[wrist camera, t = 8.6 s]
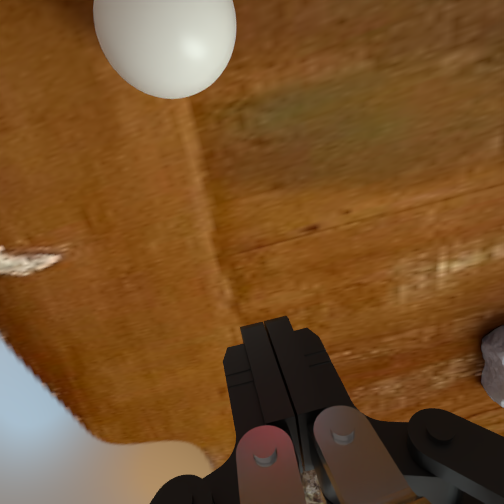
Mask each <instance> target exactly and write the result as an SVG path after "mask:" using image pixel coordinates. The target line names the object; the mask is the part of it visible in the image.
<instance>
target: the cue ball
mask: <svg viewBox="0 0 504 504" xmlns="http://www.w3.org/2000/svg"><path fill="white" fill-rule="evenodd" d="M93 17H94V25H95V30H96V34H97V37H98V40H99V43H100V46H101V48H102V50H103V53H104V55H105V56H106V58H107V60H108V61H109V63H110V64H111V66H112V67H113V68H114V69H115V70H116V72H117V73H118V74H119V75H120V76H121V77H122V78H123V79H124V80H125V81H127V82H128V83H129V84H130V85H132V86H133V87H135V88H137V89H138V90H140V91H142V92H144V93H146V94H149V95H152V96H156V97H160V98H166V99H177V98H184V97H189V96H191V95H194V94H197V93H199V92H201V91H203V90H204V89H206V88H207V87H209V86H210V85H211V84H212V83H213V82H215V81H216V80H217V78H218V77H219V76H220V75H221V74H222V72H223V71H224V69H225V67H226V66H227V64H228V62H229V60H230V58H231V55H232V52H233V48H234V44H235V38H236V14H235V9H234V5H233V0H94V4H93Z"/></svg>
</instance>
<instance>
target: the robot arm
mask: <svg viewBox="0 0 504 504" xmlns="http://www.w3.org/2000/svg"><path fill="white" fill-rule="evenodd" d="M264 326H265V327H264ZM240 329H241V334H242V339H243V343H244V344H240V345H236V346H232V347H228V348H227V351H226V354H225V357H224V360H223V365H224V370H225V376H226V381H227V387H228V392H229V398H230V403H231V409H232V414H233V420H234V425H235V431H236V444H235V447H234V450H233V452H232V454H231V456H230V457H229V459H228V460H227V461H226V462H225V463H224V464H223V465H222V466H221V467H219V468H218V469H217V470H215V471H214V472H212V473H211V474H209V475H207V476H206V477H205V478H203V479H202V478H200V477H198V476H195V475H181V476H178V477H175V478H173V479H171V480H169V481H168V482H167V483H165V484H164V485H163V486H162V488H160V489H159V491H158V492H157V493H156V495H155V496H154V498H153V499H152V501H151V503H150V504H306V500H305V495H304V491H303V486H302V480H301V473H303V468H302V462H303V465H304V468H305V471H310V470H313V469H314V470H315V473H316V476H317V479H318V481H319V484H320V491H321V498H322V501H323V503H324V504H504V437H503V436H501V435H498V434H496V433H494V432H492V431H490V430H488V429H485V428H483V427H481V426H479V425H477V424H474V423H472V422H470V421H468V420H466V419H464V418H461V417H459V416H457V415H455V414H453V413H450V412H448V411H445V410H441V409H435V408H429V409H423V410H420V411H418V412H417V413H415V414H414V415H413V416H412V417H411V419H410V421H409V422H386V421H379V420H375V419H372V418H370V417H368V416H366V415H364V414H363V413H361V412H360V411H359V410H358V409H357V408H356V407H355V406H354V404H353V403H352V401H351V399H350V397H349V395H348V393H347V391H346V389H345V387H344V385H343V383H342V381H341V379H340V378H339V376H338V374H337V372H336V370H335V368H334V366H333V364H332V363H331V360H330V358H329V356H328V354H327V352H326V350H325V348H324V346H323V344H322V342H321V340H320V338H319V337H318V336H317V335H316V334H314V333H313V332H312V331H311V330H309V329H308V328H304V329H300V330H296V331H293V328H292V326H291V324H290V321H289V319H288V317H287V316H283V317H279V318H275V319H271V320H266V321H264V324H263V322H259V323H255V324H251V325H247V326H243V327H240ZM301 459H302V461H301Z"/></svg>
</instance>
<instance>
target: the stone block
mask: <svg viewBox="0 0 504 504" xmlns="http://www.w3.org/2000/svg"><path fill="white" fill-rule="evenodd" d="M481 349H482V350H481V351H482V353H483V358H484V360H485V366H484V370H483V372H482V379H481V383H482V385H483V387H484V389H485V390H486V392H487V394H488V395H489V396H490V398H491V399H492V400H493V401H495V402H497V403H498V404H499V405H500V406H502V407H504V325H502V326H500V327H498V328H496V329H495V330H493V331H492V332H491V333H490V334H488V335H486V336H485V337H484V338H483V339H482V345H481Z"/></svg>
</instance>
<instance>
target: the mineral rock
mask: <svg viewBox="0 0 504 504" xmlns="http://www.w3.org/2000/svg"><path fill="white" fill-rule="evenodd" d="M302 468H303V473H301V480H302V486H303V491H304V495H305V500H306V504H324V503H323V501H322V498H321V491H320V484H319V481H318V479H317V476H316V473H315V470H314V469H313V470H310V471H305V468H304V467H302Z"/></svg>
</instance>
